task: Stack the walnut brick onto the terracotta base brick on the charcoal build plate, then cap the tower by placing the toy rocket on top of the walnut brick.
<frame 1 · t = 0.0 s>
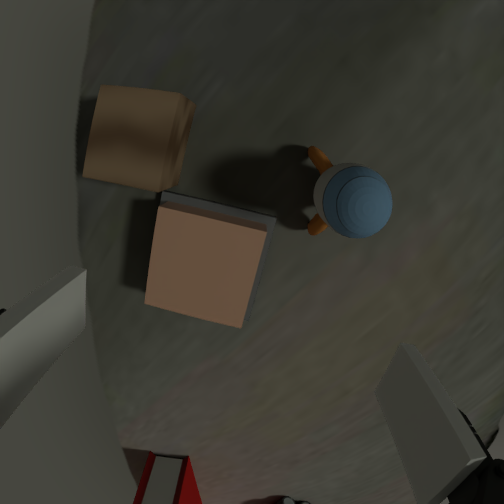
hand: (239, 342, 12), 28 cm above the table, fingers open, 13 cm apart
walnut brick: (152, 138, 37), on the table
book: (180, 485, 57), on the table
build base: (207, 256, 41), on the table
toy rocket: (328, 179, 38), on the table
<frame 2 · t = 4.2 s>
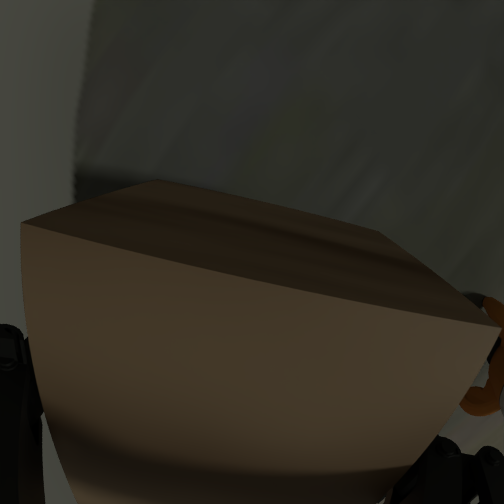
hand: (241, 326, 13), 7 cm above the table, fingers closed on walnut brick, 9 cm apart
walnut brick: (242, 318, 14), point 6 cm above the table, touching gripper
toy rocket: (492, 332, 21), on the table
when the fingers open (6 cm above the table, at t = 9.0 s): walnut brick stays where it is, resting on build base.
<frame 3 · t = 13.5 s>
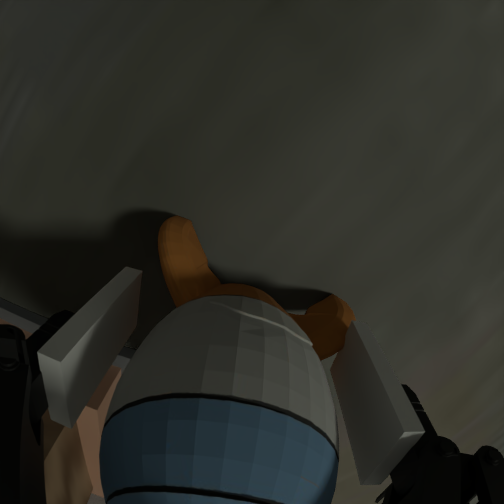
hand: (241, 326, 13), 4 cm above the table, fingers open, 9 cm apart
walnut brick: (29, 431, 15), point 5 cm above the table, touching build base
build base: (58, 391, 20), on the table
toy rocket: (230, 282, 17), on the table, touching gripper
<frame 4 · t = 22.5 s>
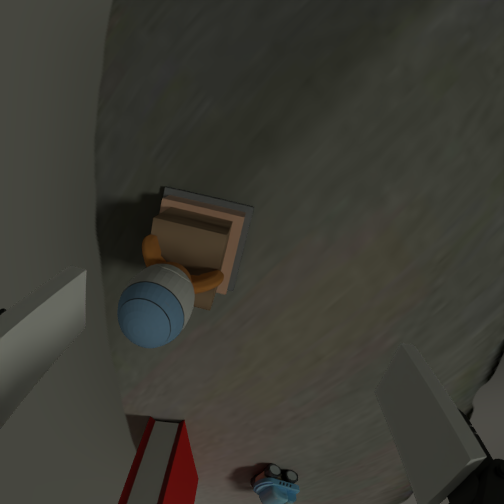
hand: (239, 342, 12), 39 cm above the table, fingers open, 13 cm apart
walnut brick: (194, 247, 46), point 5 cm above the table, touching build base, toy rocket
toy excavator: (282, 476, 69), on the table
book: (176, 452, 67), on the table
build base: (200, 238, 51), on the table
toy rocket: (174, 263, 39), point 13 cm above the table, touching walnut brick
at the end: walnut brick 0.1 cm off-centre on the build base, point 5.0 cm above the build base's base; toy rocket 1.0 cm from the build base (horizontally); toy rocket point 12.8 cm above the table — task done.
